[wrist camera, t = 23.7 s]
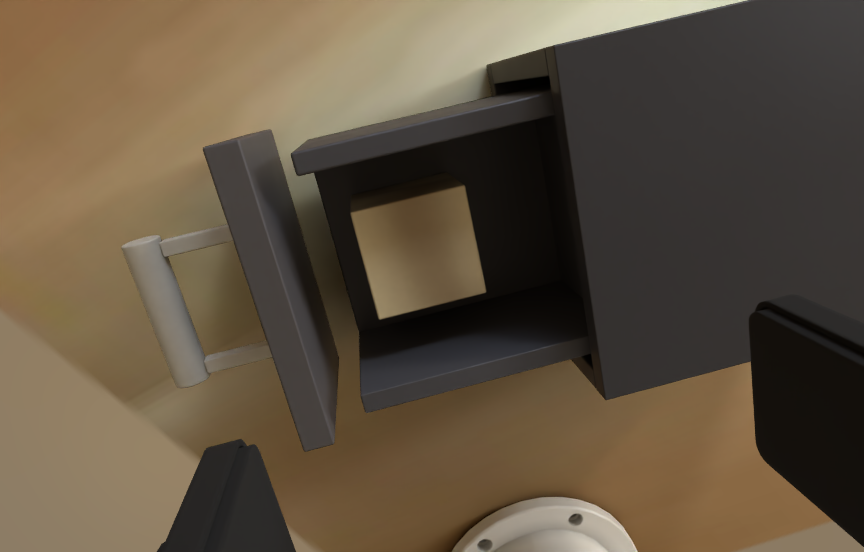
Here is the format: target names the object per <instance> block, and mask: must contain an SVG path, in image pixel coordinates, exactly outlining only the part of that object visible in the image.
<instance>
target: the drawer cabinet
mask: <svg viewBox="0 0 864 552" xmlns="http://www.w3.org/2000/svg"><path fill="white" fill-rule="evenodd" d="M487 72H488V78H489V83H490V89H491V94H492V96H496V95H501V94H505V93H509V92H513V91H518V90H522V89H526V88H530V87H535V86H539V85H546V84H550V85H551V91H552V98H553V104H554V111H555V118H556V124H557V131H558V138H559V144H560V151H561V157H562V164H563V171H564V177H565V184H566V191H567V197H568V204H569V210H570V217H571V224H572V230H573V237H574V244H575V250H576V257H577V263H578V270H579V277H580V283H581V290H582V296H583V303H584V310H585V316H586V323H587V330H588V336H589V343H590V349H591V354H588V355H584V356H581V357H577V358H573V359H571V360H572V361H573V362H574V363H575V364H576V366H577V367H578V368H579V369H580V370H581V371H582V373H583V374H584V375H585V376H586V377H587V378H588V380H589V381H590V382H591V383H592V384H593V386H594V387H595V388H596V389H597V391H598V392H599V393H600V394H601V395H602V397H603V398H604V399H605V400H609V399H613V398H616V397H620V396H624V395H627V394H631V393H635V392H639V391H642V390H646V389H650V388H653V387H657V386H661V385H665V384H668V383H672V382H676V381H679V380H683V379H687V378H690V377H694V376H698V375H702V374H705V373H709V372H713V371H716V370H720V369H724V368H728V367H731V366H735V365H739V364H742V363H746V362H750V361H751V354H750V338H749V317H750V315H751V314H752V313H753V312H755V309H756V307H757V305H758V304H759V303H760V302H763V301H767V300H771V299H774V298H778V297H782V296H786V295H790V294H796V295H799V296H801V297H804V298H806V299H808V300H811V301H813V302H815V303H818V304H820V305H822V306H825V307H827V308H829V309H832V310H834V311H836V312H839V313H841V314H843V315H846V316H848V317H850V318H853V319H855V320H857V321H860V322H862V323H864V0H748V1H743V2H739V3H735V4H731V5H726V6H722V7H718V8H713V9H709V10H705V11H700V12H696V13H692V14H687V15H683V16H679V17H674V18H670V19H666V20H661V21H657V22H653V23H648V24H644V25H640V26H635V27H631V28H627V29H622V30H618V31H614V32H609V33H605V34H601V35H596V36H592V37H588V38H583V39H579V40H575V41H570V42H566V43H562V44H557V45H553V46H550V47H546V48H543V49H540V50H536V51H533V52H529V53H526V54H522V55H519V56H516V57H512V58H509V59H505V60H502V61H498V62H495V63H492V64H488V65H487Z"/></svg>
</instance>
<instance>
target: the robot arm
mask: <svg viewBox="0 0 864 552" xmlns="http://www.w3.org/2000/svg"><path fill="white" fill-rule="evenodd" d="M749 338H750V354H751V371H752V387H753V404H754V421H755V437H756V445H757V448H758V451H759V453H760V455H761V456H762V458H763V459H764V460H765V462H766V463H767V464H769V465H770V466H771V467H772V468H773V469H774V470H775V471H777V472H778V473H779V474H780V475H781V476H782V477H784V478H785V479H786V480H787V481H788V482H789V483H790V484H792V485H793V486H794V487H795V488H796V489H797V490H799V491H800V492H801V493H802V494H803V495H804V496H805V497H807V498H808V499H809V500H810V501H811V502H812V503H814V504H815V505H816V506H817V507H818V508H819V509H820V510H822V511H823V512H824V513H825V514H826V515H827V516H828V517H830V518H831V519H832V520H833V521H834V522H835V523H837V524H838V525H839V526H840V527H841V528H842V529H844V530H845V531H846V532H847V533H848V534H849V535H850V536H852V537H853V538H854V539H855V540H856V541H857V542H858V543H860V544H861V545H862V546H863V547H864V323H862V322H860V321H857V320H855V319H853V318H850V317H848V316H846V315H843V314H841V313H839V312H836V311H834V310H832V309H829V308H827V307H825V306H822V305H820V304H818V303H815V302H813V301H811V300H808V299H806V298H804V297H801V296H799V295H796V294H790V295H786V296H782V297H778V298H774V299H771V300H767V301H763V302H760V303H759V304H758V305H757V307H756V309H755V312H753V313H752V314H751V315H750V317H749ZM157 552H296V551H295V548H294V545H293V542H292V540H291V537H290V534H289V531H288V529H287V526H286V523H285V520H284V517H283V515H282V512H281V509H280V506H279V504H278V501H277V498H276V495H275V493H274V490H273V487H272V484H271V482H270V479H269V476H268V473H267V470H266V468H265V465H264V462H263V459H262V457H261V454H260V451H259V449H258V447H257V446H256V445H255V444H253V445H249V446H247V445H246V444H245V442H244V441H243V440H241V439H239V440H235V441H231V442H227V443H224V444H220V445H216V446H212V447H209V448H206V450H205V451H204V453H203V456H202V458H201V460H200V463H199V465H198V467H197V470H196V472H195V474H194V476H193V479H192V481H191V483H190V486H189V488H188V490H187V493H186V495H185V497H184V500H183V502H182V504H181V507H180V509H179V512H178V514H177V516H176V518H175V521H174V523H173V525H172V528H171V530H170V532H169V535H168V537H167V539H166V542H164V543H163V544H161V546H160V548H159V549H158V551H157ZM452 552H637V550H636V548H635V545H634V543H633V541H632V540H631V538H630V537H629V535H628V534H627V532H626V531H625V529H624V528H623V526H622V525H621V524H620V523H619V522H618V521H617V520H616V519H615V518H614V517H613V516H612V515H611V514H609V513H608V512H606V511H604V510H603V509H601V508H599V507H598V506H596V505H593V504H591V503H588V502H585V501H582V500H579V499H572V498H566V497H540V498H535V499H530V500H525V501H521V502H518V503H515V504H512V505H510V506H507V507H504V508H502V509H500V510H498V511H496V512H495V513H493V514H491V515H489V516H487V517H486V518H484V519H483V520H481V521H480V522H479V523H478V524H476V525H475V526H474V527H473V528H471V529H470V530H469V531H468V532H467V533H466V534H465V535H464V536H463V537H462V539H461V540H460V541H459V542H458V543H457V544H456V545H455V547H454V549H453V550H452Z"/></svg>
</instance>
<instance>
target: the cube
mask: <svg viewBox="0 0 864 552" xmlns="http://www.w3.org/2000/svg"><path fill="white" fill-rule="evenodd" d="M350 215H351V218H352V222H353V226H354V230H355V233H356V237H357V241H358V245H359V248H360V252H361V256H362V259H363V263H364V267H365V271H366V274H367V278H368V282H369V286H370V289H371V293H372V297H373V301H374V304H375V308H376V312H377V316H378V319H379V320H381V319H385V318H389V317H393V316H397V315H401V314H405V313H409V312H413V311H417V310H421V309H425V308H428V307H432V306H436V305H440V304H444V303H448V302H452V301H456V300H460V299H464V298H468V297H472V296H476V295H480V294H483V293H486V287H485V282H484V277H483V272H482V267H481V262H480V257H479V252H478V247H477V242H476V237H475V232H474V228H473V223H472V218H471V213H470V208H469V203H468V198H467V193H466V188H465V186H464V185H463V184H462V183H461V182H459V181H458V180H457V179H455V178H454V177H452V176H451V175H450V174H448V173H447V172H445V173H441V174H437V175H432V176H428V177H424V178H420V179H416V180H412V181H408V182H403V183H399V184H395V185H391V186H387V187H383V188H379V189H374V190H370V191H366V192H362V193H358V194H354V195H351V211H350Z"/></svg>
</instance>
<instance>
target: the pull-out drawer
mask: <svg viewBox="0 0 864 552" xmlns="http://www.w3.org/2000/svg"><path fill="white" fill-rule="evenodd" d="M203 152H204V155H205V158H206V161H207V164H208V167H209V170H210V173H211V176H212V179H213V182H214V185H215V187H216V190H217V193H218V196H219V199H220V202H221V205H222V208H223V211H224V214H225V217H226V220H227V223H228V224H226V225H221V226H217V227H213V228H209V229H205V230H201V231H197V232H192V233H188V234H184V235H180V236H176V237H172V238H168V239H164V240H163V241H162V240H161V237H160V236H159V235H153V236H148V237H144V238H140V239H137V240H134V241H131V242H128V243H126V244H124V245H123V246H122V247H121V249H122V251H123V254H124V256H125V259H126V261H127V264H128V266H129V269H130V271H131V274H132V276H133V279H134V281H135V284H136V286H137V289H138V291H139V294H140V296H141V299H142V301H143V304H144V306H145V309H146V311H147V314H148V317H149V319H150V322H151V324H152V327H153V329H154V332H155V334H156V337H157V339H158V342H159V344H160V347H161V349H162V352H163V354H164V357H165V359H166V362H167V364H168V367H169V369H170V372H171V374H172V377H173V379H174V382H175V384H176V386H177V387H178V388H188V387H192V386H195V385H197V384H199V383H201V382H203V381H205V380H206V379H207V378H209V376H210V375H211V373H213V372H217V371H221V370H225V369H229V368H233V367H237V366H241V365H245V364H249V363H252V362H256V361H260V360H264V359H268V358H273V361H274V364H275V366H276V369H277V372H278V375H279V378H280V381H281V384H282V387H283V390H284V393H285V396H286V399H287V402H288V405H289V408H290V411H291V414H292V417H293V420H294V423H295V426H296V429H297V432H298V435H299V438H300V441H301V444H302V447H303V450H304V451H305V452H306V451H310V450H314V449H318V448H321V447H325V446H329V445H333V444H334V441H335V423H336V405H337V387H338V369H339V356H338V353H337V349H336V346H335V342H334V339H333V336H332V332H331V329H330V326H329V322H328V319H327V316H326V312H325V309H324V305H323V302H322V299H321V295H320V292H319V289H318V285H317V282H316V278H315V275H314V272H313V268H312V265H311V262H310V258H309V255H308V251H307V248H306V245H305V241H304V238H303V235H302V231H301V228H300V225H299V221H298V218H297V214H296V211H295V208H294V204H293V201H292V198H291V194H290V191H289V187H288V184H287V181H286V177H285V174H284V171H283V167H282V164H281V161H280V157H279V154H278V150H277V147H276V144H275V140H274V137H273V134H272V131H271V130H270V129H269V130H265V131H260V132H256V133H252V134H248V135H244V136H240V137H237V138H234V139H230V140H227V141H223V142H220V143H216V144H213V145H209V146H206V147H204V148H203ZM291 158H292V161H293V165H294V168H295V172H296V174H297V175H298V176H301V175H305V174H310V173H314V174H315V178H316V181H317V185H318V188H319V192H320V195H321V199H322V202H323V206H324V210H325V213H326V217H327V220H328V224H329V227H330V231H331V234H332V238H333V242H334V245H335V249H336V252H337V256H338V259H339V263H340V266H341V270H342V274H343V277H344V281H345V284H346V288H347V291H348V295H349V298H350V302H351V306H352V309H353V313H354V316H355V320H356V323H357V327H358V330H359V352H360V391H361V399H362V403H363V406H364V409H365V412H366V413H369V412H372V411H376V410H380V409H384V408H387V407H391V406H395V405H399V404H403V403H406V402H410V401H414V400H418V399H422V398H425V397H429V396H433V395H437V394H440V393H444V392H448V391H452V390H456V389H459V388H463V387H467V386H471V385H475V384H478V383H482V382H486V381H490V380H494V379H497V378H501V377H505V376H509V375H512V374H516V373H520V372H524V371H528V370H531V369H535V368H539V367H543V366H547V365H550V364H554V363H558V362H562V361H565V360H569V359H573V358H577V357H581V356H584V355H588V354H591V349H590V343H589V336H588V330H587V323H586V316H585V310H584V303H583V296H582V290H581V283H580V277H579V270H578V263H577V257H576V250H575V244H574V237H573V230H572V224H571V217H570V210H569V204H568V197H567V191H566V184H565V177H564V171H563V164H562V157H561V151H560V144H559V138H558V131H557V124H556V118H555V111H554V104H553V98H552V91H551V85H550V84H546V85H539V86H535V87H530V88H526V89H522V90H518V91H513V92H509V93H505V94H501V95H496V96H492V97H488V98H484V99H479V100H475V101H471V102H467V103H462V104H458V105H454V106H450V107H445V108H441V109H437V110H433V111H428V112H424V113H420V114H416V115H411V116H407V117H403V118H398V119H394V120H390V121H386V122H381V123H377V124H373V125H369V126H364V127H360V128H356V129H352V130H347V131H343V132H339V133H335V134H330V135H326V136H322V137H318V138H313V139H309V140H307V141H306V142H305V143H304V144H302V145H301V146H300V147H299V148H297V149H296V150H295V151H294V152H292V153H291ZM445 172H447V173H448V174H450V175H451V176H452V177H454V178H455V179H457V180H458V181H459V182H461V183H462V184H463V185H464V186H465V188H466V193H467V198H468V203H469V208H470V213H471V218H472V223H473V228H474V232H475V237H476V242H477V247H478V252H479V257H480V262H481V267H482V272H483V277H484V282H485V287H486V293H483V294H480V295H476V296H472V297H468V298H464V299H460V300H456V301H452V302H448V303H444V304H440V305H436V306H432V307H428V308H425V309H421V310H417V311H413V312H409V313H405V314H401V315H397V316H393V317H389V318H385V319H381V320H379V319H378V316H377V312H376V308H375V304H374V301H373V297H372V293H371V289H370V286H369V282H368V278H367V274H366V271H365V267H364V263H363V259H362V256H361V252H360V248H359V245H358V241H357V237H356V233H355V230H354V226H353V222H352V218H351V215H350V211H351V195H354V194H358V193H362V192H366V191H370V190H374V189H379V188H383V187H387V186H391V185H395V184H399V183H403V182H408V181H412V180H416V179H420V178H424V177H428V176H432V175H437V174H441V173H445ZM230 241H234V244H235V247H236V250H237V253H238V256H239V259H240V262H241V265H242V268H243V271H244V274H245V277H246V280H247V283H248V286H249V289H250V292H251V295H252V298H253V301H254V304H255V307H256V310H257V313H258V316H259V319H260V322H261V325H262V328H263V331H264V334H265V337H266V341H262V342H258V343H254V344H250V345H247V346H243V347H239V348H235V349H231V350H227V351H223V352H219V353H215V354H211V355H207V356H206V357H205V355H204V352H203V349H202V347H201V344H200V341H199V339H198V336H197V333H196V331H195V328H194V325H193V323H192V320H191V317H190V315H189V312H188V309H187V307H186V304H185V301H184V299H183V296H182V293H181V290H180V288H179V285H178V282H177V280H176V277H175V274H174V272H173V269H172V266H171V264H170V261H169V258H168V257H169V256H173V255H177V254H181V253H185V252H189V251H193V250H197V249H202V248H206V247H210V246H214V245H218V244H222V243H226V242H230Z"/></svg>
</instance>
